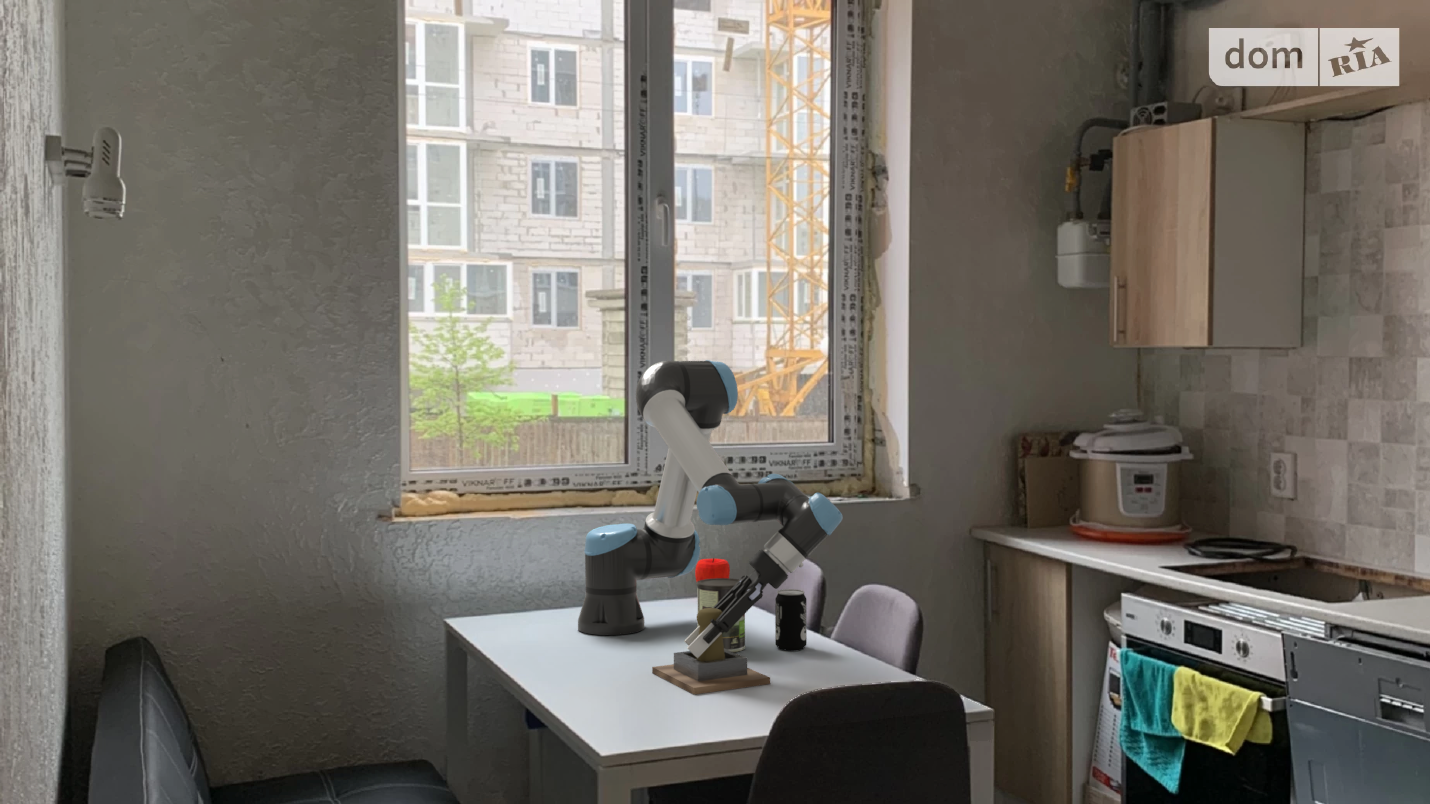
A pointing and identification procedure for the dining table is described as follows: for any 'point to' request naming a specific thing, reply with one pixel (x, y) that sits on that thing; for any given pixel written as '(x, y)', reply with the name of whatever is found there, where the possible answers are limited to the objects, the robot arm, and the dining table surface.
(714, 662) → the socket plate
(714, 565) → the apple
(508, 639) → the dining table surface
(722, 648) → the cork
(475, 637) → the dining table surface
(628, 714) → the dining table surface
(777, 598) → the beverage can
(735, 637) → the coffee can
